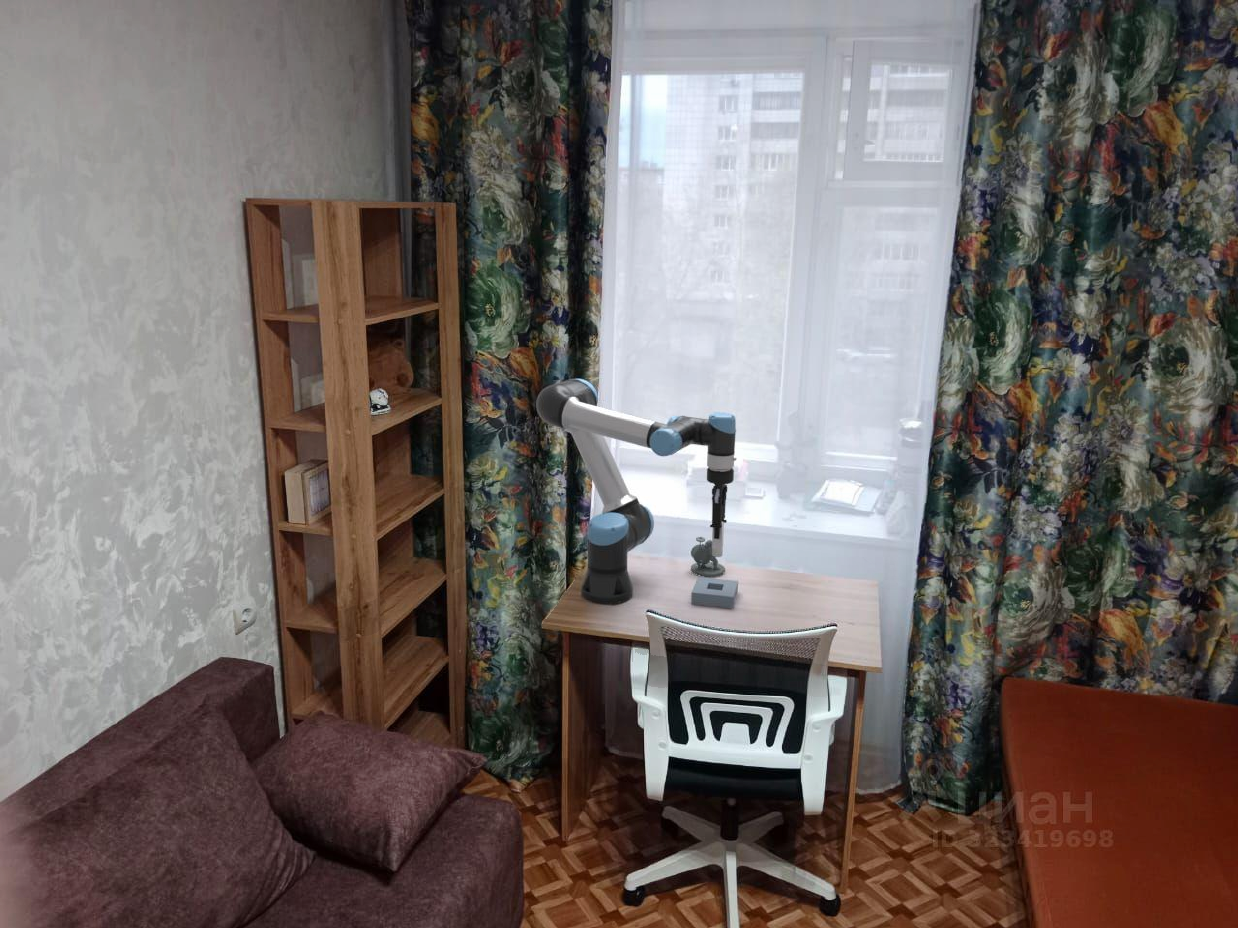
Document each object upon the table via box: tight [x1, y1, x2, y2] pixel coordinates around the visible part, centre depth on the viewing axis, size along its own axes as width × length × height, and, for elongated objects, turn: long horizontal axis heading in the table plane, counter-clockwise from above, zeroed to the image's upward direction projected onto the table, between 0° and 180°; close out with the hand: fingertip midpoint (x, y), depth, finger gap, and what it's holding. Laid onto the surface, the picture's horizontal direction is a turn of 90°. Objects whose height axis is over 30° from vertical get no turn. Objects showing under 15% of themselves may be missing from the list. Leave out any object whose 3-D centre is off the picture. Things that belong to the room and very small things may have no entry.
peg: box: [712, 521, 725, 558], centre depth 264 cm, size 3×3×10 cm
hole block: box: [690, 576, 739, 609], centre depth 269 cm, size 12×12×4 cm
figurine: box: [690, 536, 726, 578], centre depth 288 cm, size 11×11×12 cm
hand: (717, 546), depth 265 cm, fingers closed on peg, 2 cm apart
